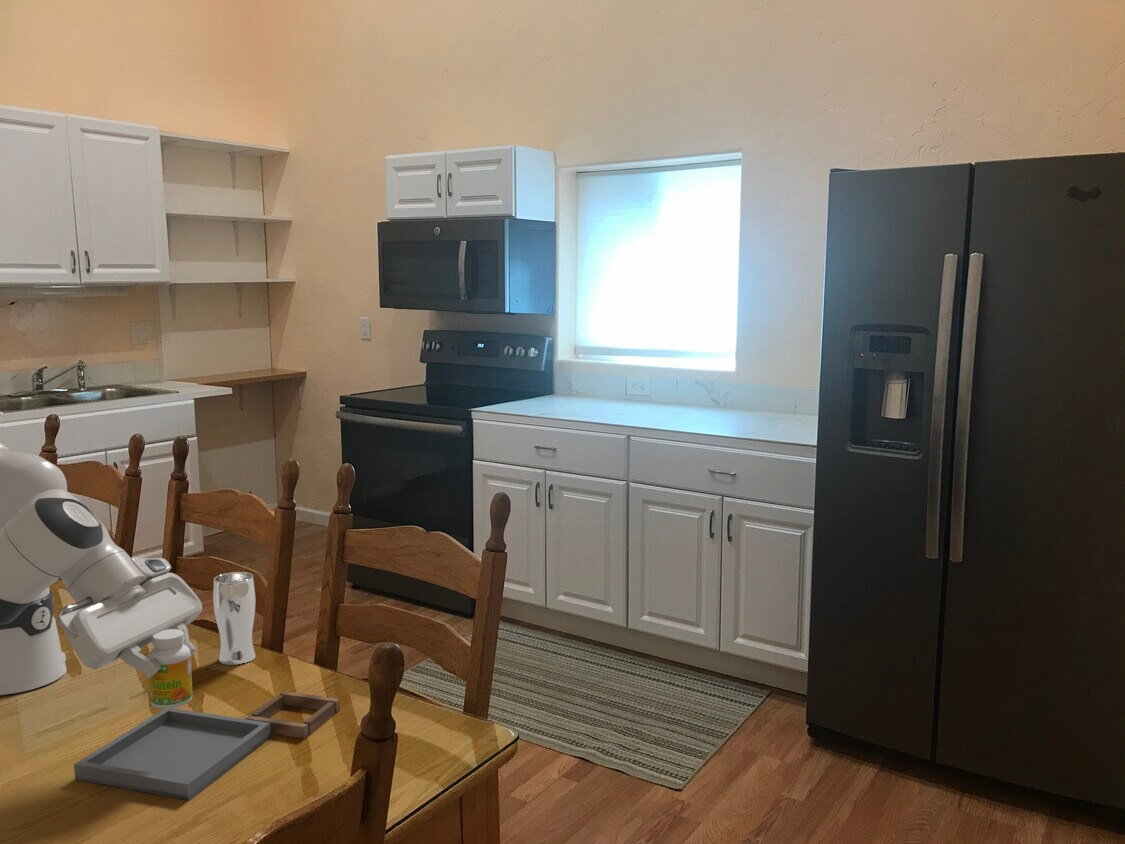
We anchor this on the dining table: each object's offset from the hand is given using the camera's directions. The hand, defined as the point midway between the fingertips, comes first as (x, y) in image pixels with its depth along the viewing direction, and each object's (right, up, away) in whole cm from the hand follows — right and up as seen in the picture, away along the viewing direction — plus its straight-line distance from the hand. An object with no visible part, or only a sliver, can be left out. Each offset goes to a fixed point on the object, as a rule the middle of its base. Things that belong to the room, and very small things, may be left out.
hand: (173, 664), depth 129 cm
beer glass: (-4, -9, +38) cm, 39 cm away
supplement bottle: (-1, -6, +1) cm, 6 cm away
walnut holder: (+12, -12, +14) cm, 22 cm away
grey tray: (0, -14, +2) cm, 14 cm away
